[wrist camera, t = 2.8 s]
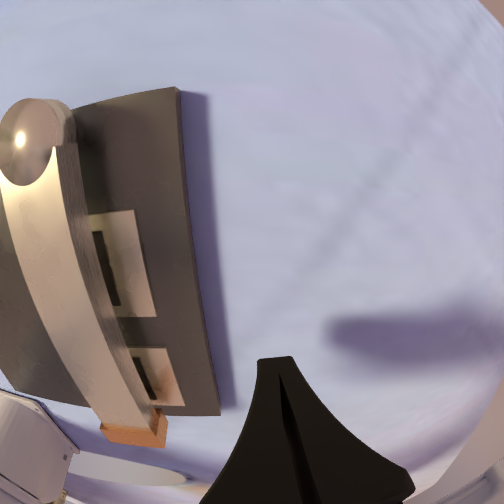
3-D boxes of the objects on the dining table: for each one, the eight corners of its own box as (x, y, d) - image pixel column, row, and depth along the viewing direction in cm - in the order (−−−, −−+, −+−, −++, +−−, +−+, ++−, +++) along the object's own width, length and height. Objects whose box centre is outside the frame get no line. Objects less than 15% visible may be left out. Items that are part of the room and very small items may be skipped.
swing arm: (168, 422, 15) (164, 448, 13) (116, 417, 15) (110, 441, 13) (84, 88, 8) (55, 82, 6) (16, 114, 7) (-16, 117, 6)
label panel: (220, 403, 17) (220, 426, 15) (19, 382, 16) (11, 397, 15) (179, 90, 10) (170, 82, 8) (-61, 174, 9) (-79, 182, 7)
